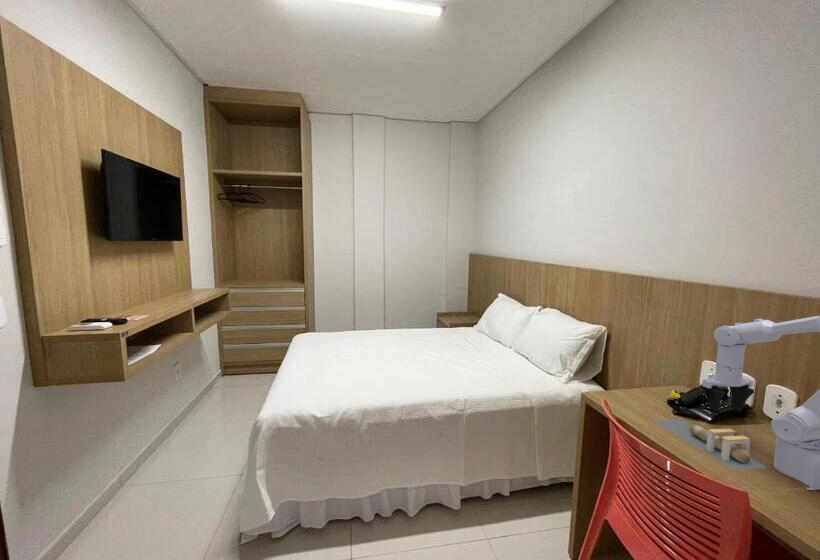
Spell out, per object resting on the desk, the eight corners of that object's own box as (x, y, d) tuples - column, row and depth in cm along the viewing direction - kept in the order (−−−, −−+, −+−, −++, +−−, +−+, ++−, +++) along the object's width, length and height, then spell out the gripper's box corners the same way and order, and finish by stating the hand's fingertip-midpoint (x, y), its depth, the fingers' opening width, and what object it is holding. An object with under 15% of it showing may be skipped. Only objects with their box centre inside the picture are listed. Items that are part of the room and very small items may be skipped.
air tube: (747, 465, 87) (753, 454, 87) (737, 460, 87) (743, 449, 87) (696, 436, 101) (701, 427, 101) (687, 432, 101) (693, 422, 101)
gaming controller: (724, 417, 114) (710, 404, 124) (726, 402, 114) (711, 390, 123) (672, 409, 120) (662, 398, 129) (673, 394, 119) (663, 384, 128)
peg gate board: (767, 470, 86) (770, 445, 85) (733, 472, 85) (735, 447, 84) (679, 421, 110) (681, 402, 110) (652, 422, 109) (653, 402, 109)
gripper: (736, 360, 103) (732, 403, 104) (694, 361, 101) (690, 404, 102) (762, 368, 96) (758, 413, 97) (717, 369, 94) (713, 415, 95)
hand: (724, 409), depth 99 cm, fingers open, 7 cm apart
